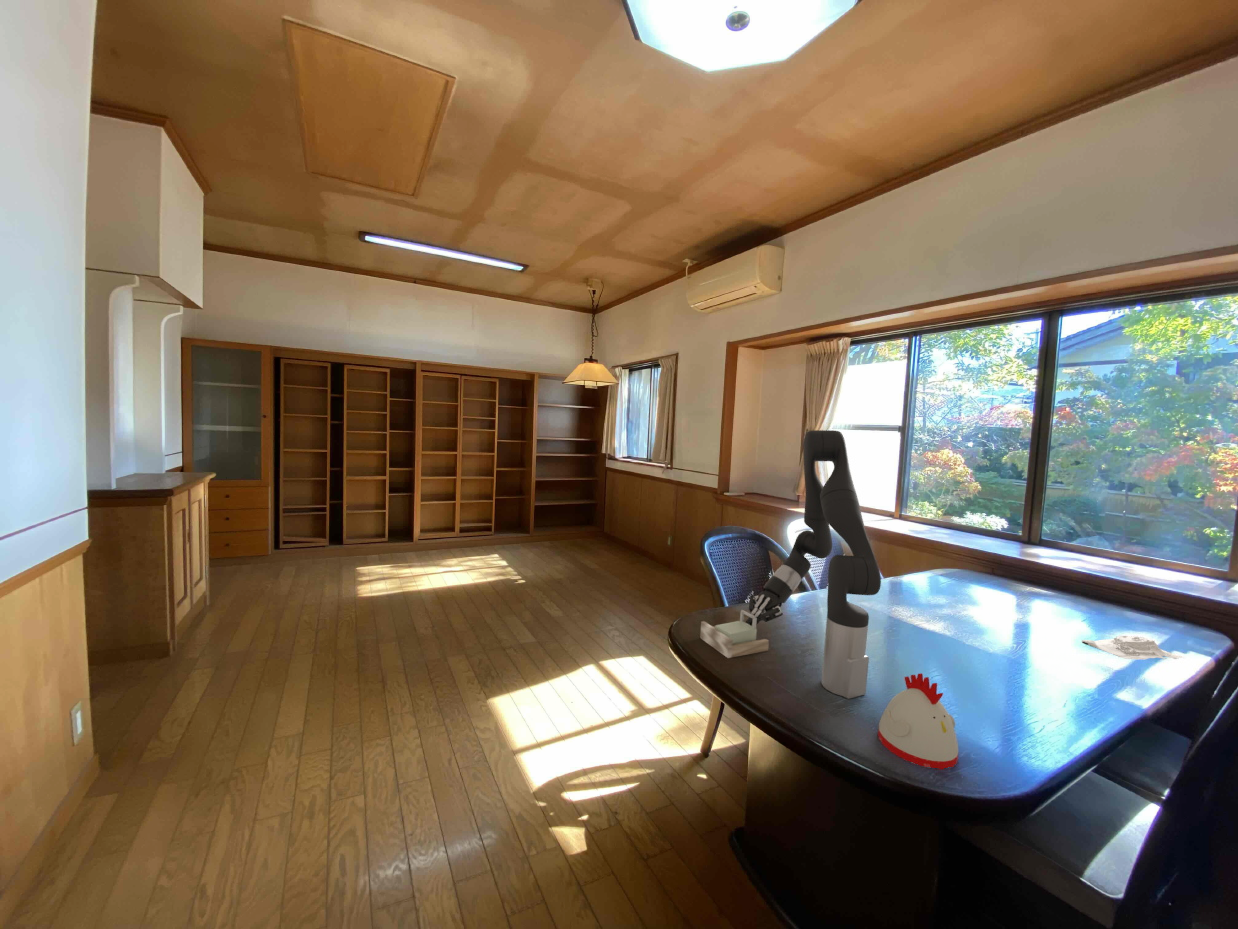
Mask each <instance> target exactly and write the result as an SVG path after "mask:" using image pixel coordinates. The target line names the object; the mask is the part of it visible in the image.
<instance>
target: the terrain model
mask: <svg viewBox="0 0 1238 929" xmlns="http://www.w3.org/2000/svg"><path fill="white" fill-rule="evenodd" d="M1081 643H1086V644H1087V645H1088V646H1089V647H1093V648H1096V649H1098V650H1101V651H1103V652H1106V653H1109V654H1112V655H1115V656H1117V657H1118V658H1119V657H1120V658H1122V659H1125V660H1137V661H1138V660H1144V661H1145V660H1149V659H1156V658H1158V659H1163V660H1164V659H1167V658H1171V659H1173V660H1177V659H1181V658H1182V659H1185V658H1186V657H1185V656H1182V655H1178V654H1176V653H1172V652H1169V651H1166V650H1163V649H1161V648H1160V647H1159V645H1158V644H1157V643H1156V642H1155V640H1153V639H1148V638H1145V637H1143V636H1140V637H1138V636H1132V635H1131V636H1128V635H1119V636H1116V637H1115V638H1113V639H1111V638H1110V639H1100V640H1091V639H1090V640H1089V639H1081Z"/></svg>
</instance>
